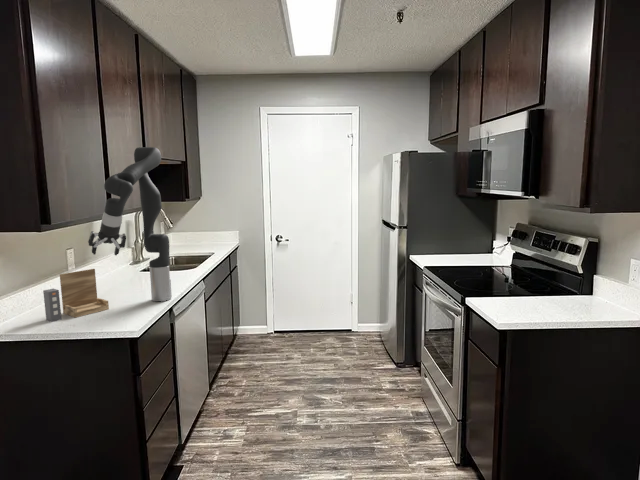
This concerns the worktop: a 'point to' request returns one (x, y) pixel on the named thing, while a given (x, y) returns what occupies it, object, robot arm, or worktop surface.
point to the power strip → (52, 305)
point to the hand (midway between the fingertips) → (104, 254)
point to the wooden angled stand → (80, 293)
